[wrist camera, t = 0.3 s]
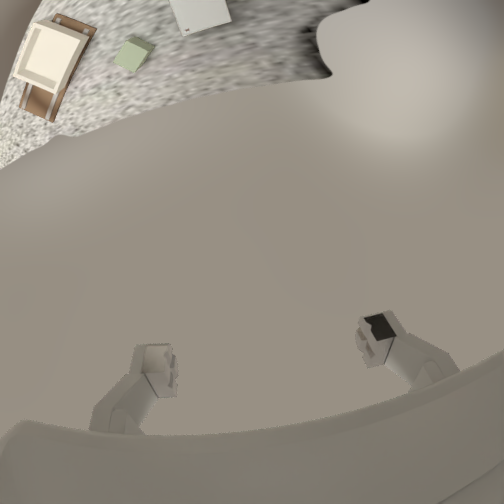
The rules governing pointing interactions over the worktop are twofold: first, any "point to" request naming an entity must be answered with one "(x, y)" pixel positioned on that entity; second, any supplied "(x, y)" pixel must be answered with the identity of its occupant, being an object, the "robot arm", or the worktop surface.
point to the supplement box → (199, 14)
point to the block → (133, 54)
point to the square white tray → (49, 55)
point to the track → (42, 99)
